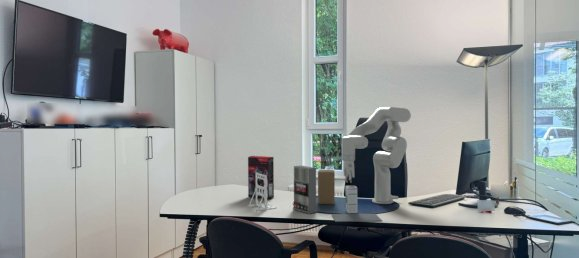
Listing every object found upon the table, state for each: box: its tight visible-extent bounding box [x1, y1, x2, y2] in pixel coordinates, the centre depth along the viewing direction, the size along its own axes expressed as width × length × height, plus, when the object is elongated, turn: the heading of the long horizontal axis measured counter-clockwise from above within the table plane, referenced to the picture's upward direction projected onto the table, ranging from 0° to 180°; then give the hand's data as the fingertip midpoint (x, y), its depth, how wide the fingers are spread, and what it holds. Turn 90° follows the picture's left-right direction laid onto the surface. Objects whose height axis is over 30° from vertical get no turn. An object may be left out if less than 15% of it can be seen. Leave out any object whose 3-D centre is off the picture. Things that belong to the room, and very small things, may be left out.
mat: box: [331, 213, 383, 223], centre depth 209 cm, size 24×14×1 cm, turn 92°
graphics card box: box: [247, 155, 275, 200], centre depth 262 cm, size 17×7×27 cm, turn 58°
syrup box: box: [344, 184, 358, 214], centre depth 222 cm, size 6×6×14 cm
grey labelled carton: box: [292, 165, 318, 215], centre depth 225 cm, size 14×6×25 cm, turn 37°
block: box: [317, 169, 336, 205], centre depth 245 cm, size 10×10×20 cm
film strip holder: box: [246, 173, 278, 212], centre depth 234 cm, size 14×14×20 cm
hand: (348, 189), depth 230 cm, fingers closed
